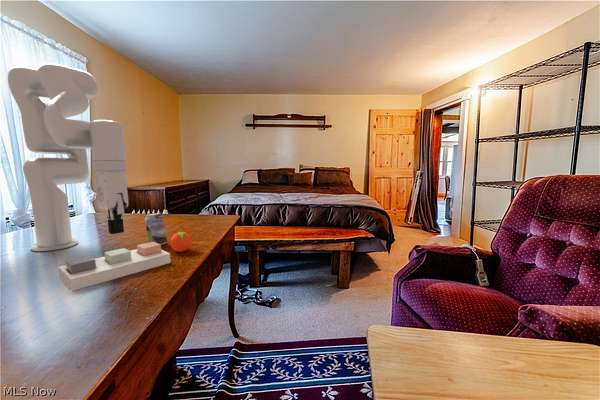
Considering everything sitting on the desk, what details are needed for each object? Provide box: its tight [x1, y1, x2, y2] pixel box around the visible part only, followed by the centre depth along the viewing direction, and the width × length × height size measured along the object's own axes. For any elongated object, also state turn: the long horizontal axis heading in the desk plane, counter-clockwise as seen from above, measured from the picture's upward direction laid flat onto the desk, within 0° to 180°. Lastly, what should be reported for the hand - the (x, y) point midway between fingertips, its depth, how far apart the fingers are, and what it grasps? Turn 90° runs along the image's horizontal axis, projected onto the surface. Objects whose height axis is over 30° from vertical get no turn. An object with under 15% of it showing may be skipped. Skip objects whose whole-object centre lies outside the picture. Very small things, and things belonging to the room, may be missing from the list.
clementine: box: [170, 231, 193, 253], centre depth 94 cm, size 8×7×7 cm
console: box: [57, 248, 171, 292], centre depth 78 cm, size 12×24×3 cm, turn 142°
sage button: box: [103, 247, 131, 265], centre depth 78 cm, size 5×5×3 cm
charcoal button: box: [65, 255, 96, 275], centre depth 71 cm, size 5×5×3 cm
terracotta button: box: [136, 241, 162, 256], centre depth 85 cm, size 5×5×3 cm
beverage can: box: [144, 212, 168, 246], centre depth 100 cm, size 6×7×12 cm
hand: (116, 232), depth 77 cm, fingers closed
